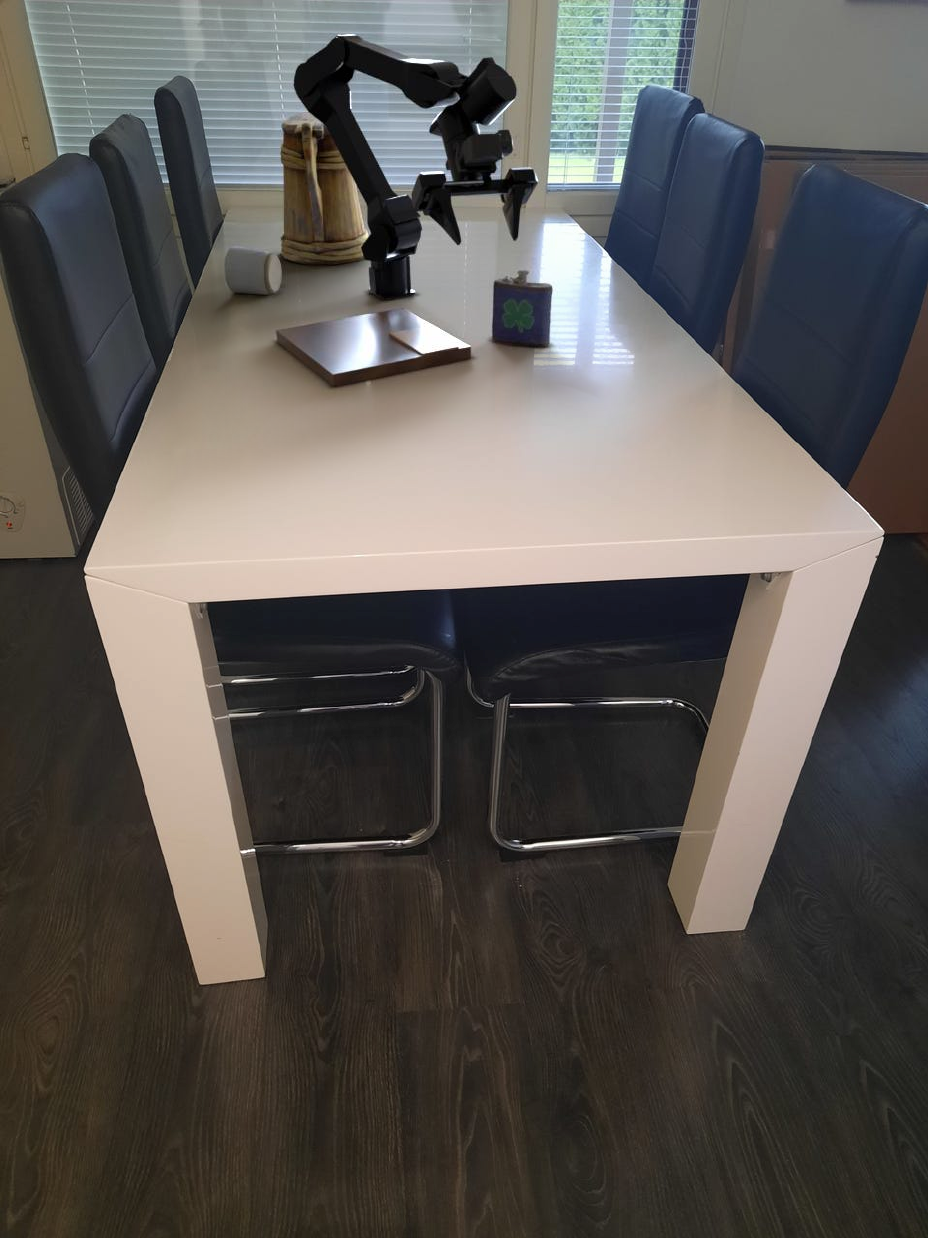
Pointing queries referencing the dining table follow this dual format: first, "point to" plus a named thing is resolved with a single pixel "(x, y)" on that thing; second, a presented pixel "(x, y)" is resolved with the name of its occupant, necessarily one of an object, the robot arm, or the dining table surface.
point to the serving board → (371, 346)
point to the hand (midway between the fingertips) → (488, 241)
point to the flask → (521, 311)
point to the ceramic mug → (252, 271)
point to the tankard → (318, 197)
